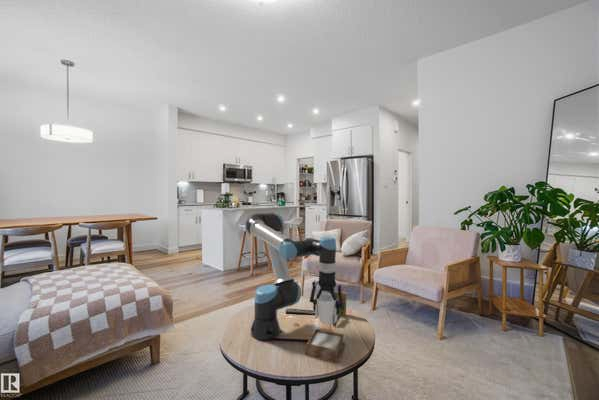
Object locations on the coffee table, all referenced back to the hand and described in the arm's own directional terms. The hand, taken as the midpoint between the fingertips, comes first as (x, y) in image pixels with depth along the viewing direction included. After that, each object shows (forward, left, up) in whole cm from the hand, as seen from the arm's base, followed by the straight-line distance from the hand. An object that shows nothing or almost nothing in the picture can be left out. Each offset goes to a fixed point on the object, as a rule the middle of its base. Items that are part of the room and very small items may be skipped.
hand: (326, 319), depth 122 cm
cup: (0, 0, -1) cm, 1 cm away
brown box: (0, 0, -15) cm, 15 cm away
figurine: (-1, +31, -15) cm, 35 cm away
